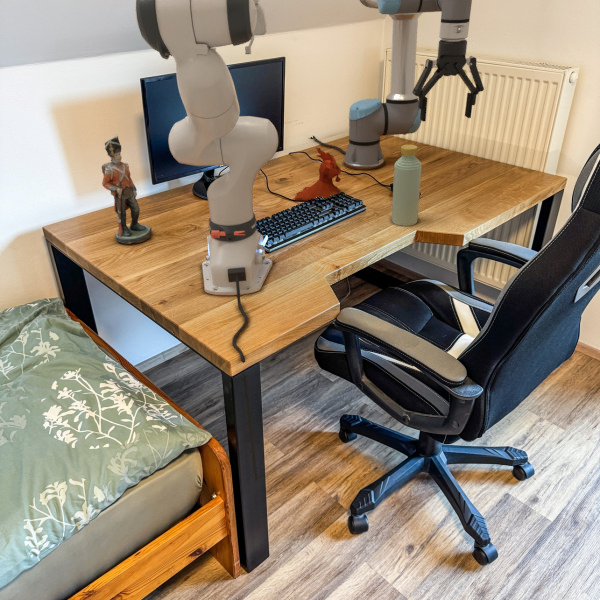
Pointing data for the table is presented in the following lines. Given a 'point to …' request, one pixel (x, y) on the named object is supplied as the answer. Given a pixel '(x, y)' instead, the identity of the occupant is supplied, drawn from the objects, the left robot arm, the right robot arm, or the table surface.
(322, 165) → the toy
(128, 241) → the figurine
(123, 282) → the table surface
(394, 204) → the bottle
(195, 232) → the table surface
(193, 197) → the table surface
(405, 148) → the cap
